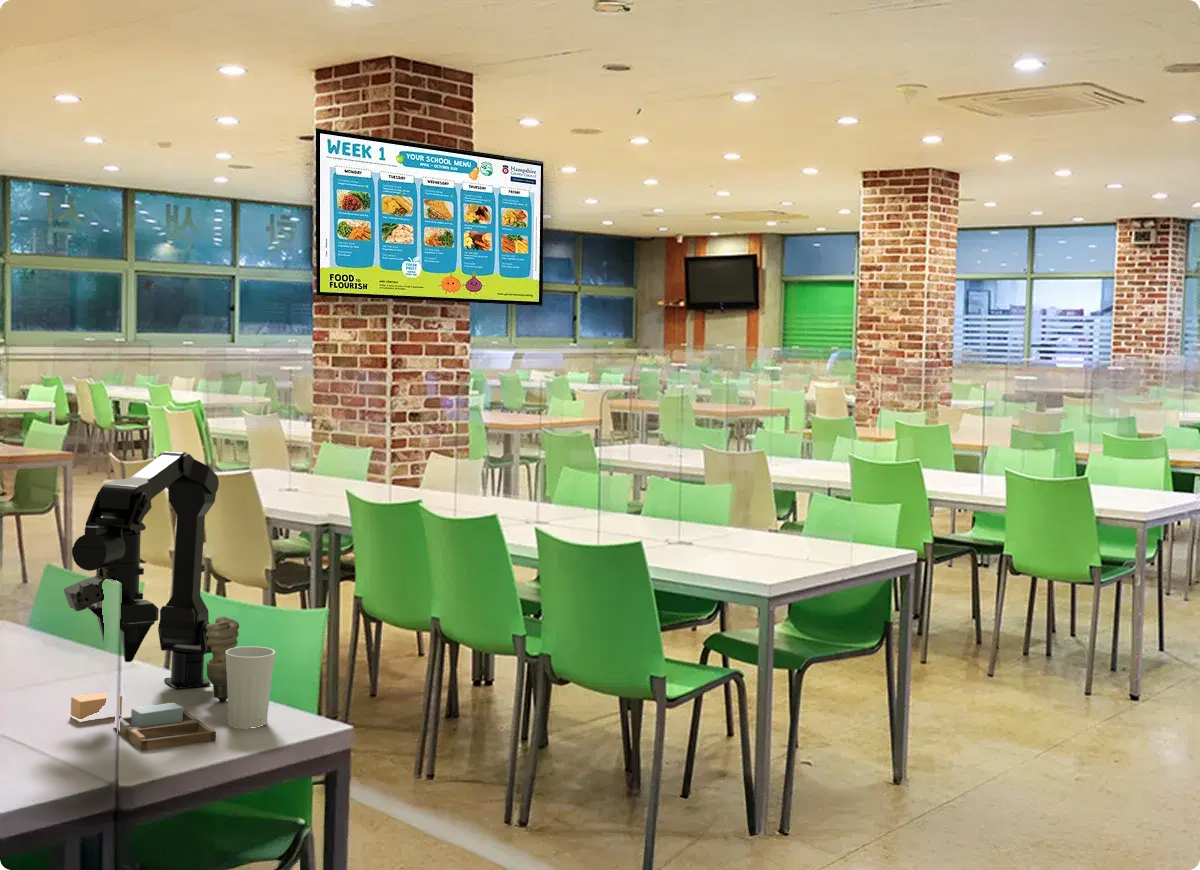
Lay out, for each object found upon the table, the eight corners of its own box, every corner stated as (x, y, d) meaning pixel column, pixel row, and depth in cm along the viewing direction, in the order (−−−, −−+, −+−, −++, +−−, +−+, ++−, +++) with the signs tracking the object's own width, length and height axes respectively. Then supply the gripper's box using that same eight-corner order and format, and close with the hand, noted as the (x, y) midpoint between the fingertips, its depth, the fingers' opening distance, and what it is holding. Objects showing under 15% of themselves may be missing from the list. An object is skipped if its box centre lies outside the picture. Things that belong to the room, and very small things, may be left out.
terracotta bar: (70, 718, 221) (71, 696, 220) (112, 712, 226) (112, 691, 225) (79, 723, 218) (80, 701, 218) (121, 717, 223) (122, 695, 223)
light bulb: (219, 707, 231) (222, 621, 230) (196, 701, 234) (199, 616, 233) (243, 701, 236) (246, 616, 235) (220, 695, 239) (223, 611, 238)
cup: (259, 732, 218) (262, 659, 217) (213, 726, 220) (216, 654, 219) (280, 719, 226) (283, 649, 225) (236, 714, 228) (239, 644, 227)
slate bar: (130, 730, 216) (131, 708, 216) (172, 724, 221) (173, 702, 220) (140, 736, 213) (141, 713, 213) (182, 729, 218) (183, 707, 218)
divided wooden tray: (113, 727, 216) (114, 716, 216) (185, 719, 223) (185, 708, 223) (141, 750, 205) (142, 739, 205) (215, 741, 212) (216, 729, 212)
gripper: (52, 554, 221) (49, 648, 222) (89, 573, 206) (86, 674, 207) (120, 550, 228) (117, 641, 229) (161, 569, 213) (158, 666, 214)
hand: (118, 655), depth 219 cm, fingers open, 9 cm apart
